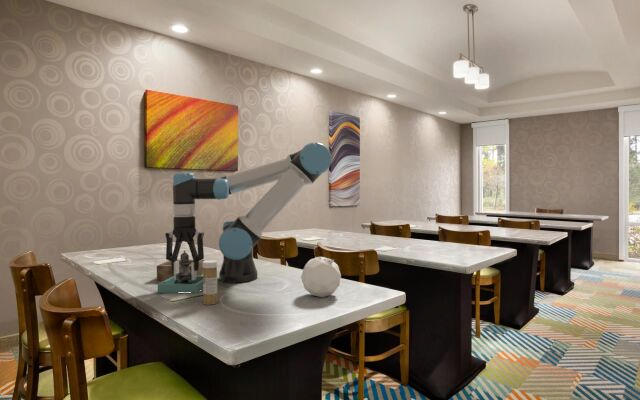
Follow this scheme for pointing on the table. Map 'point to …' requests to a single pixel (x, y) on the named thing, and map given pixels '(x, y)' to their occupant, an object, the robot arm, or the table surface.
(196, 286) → the tray
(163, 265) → the wooden crate
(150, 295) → the table surface
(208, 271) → the sprinkles bottle
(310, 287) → the geodesic sphere
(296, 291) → the table surface
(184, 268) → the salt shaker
